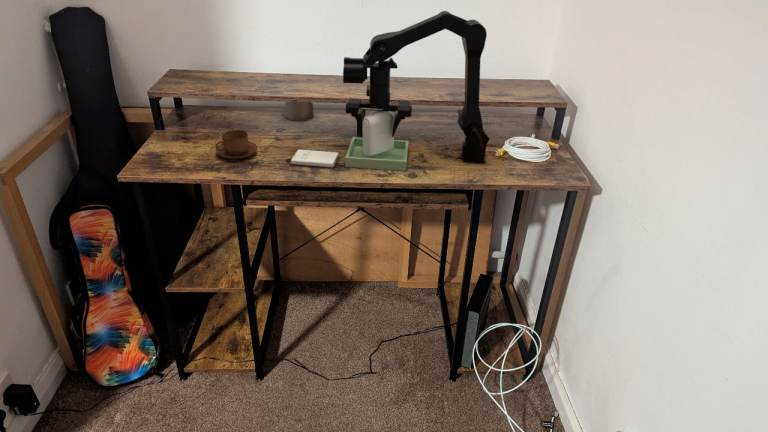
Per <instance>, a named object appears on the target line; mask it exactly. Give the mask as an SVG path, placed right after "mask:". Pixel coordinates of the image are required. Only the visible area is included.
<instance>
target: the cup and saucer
mask: <svg viewBox="0 0 768 432" xmlns="http://www.w3.org/2000/svg"><path fill="white" fill-rule="evenodd" d="M257 151H258V145H257V144H256V143H255V142H252V141H250V140H249V134H248V132H246V131H245V130H240V129H239V130H238V129H235V130H234V129H233V130H228V131H225V132H224V133H222V134H221V140H219V141H217V142H216V143H215V153H216V155H218V156H220V157H221V158H224V159H228V160H241V159H245V158H249V157H251V156H252V155H254V154H255V153H256V152H257Z"/></svg>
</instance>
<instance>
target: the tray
mask: <svg viewBox="0 0 768 432" xmlns="http://www.w3.org/2000/svg"><path fill="white" fill-rule="evenodd" d="M408 152H409V140H402V139H401V140H400V139H394V148H393V149H391V150H388V151H385V152H382V153H379V154H375V155H372V156H366V155H364V153H363V137H354V136H353V137H351V141H350V143H349V146H348V148H347V151H346V154H345V157H344V167H345V168H359V169H372V170H374V169H375V170H386V171H387V170H388V171H403V172H404V171H405V172H406V171H407V163H408Z"/></svg>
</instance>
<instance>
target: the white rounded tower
mask: <svg viewBox="0 0 768 432" xmlns="http://www.w3.org/2000/svg"><path fill="white" fill-rule="evenodd" d="M394 120H395V114H394V113H393V112H392V111H374V112H371V113H369V114H367V115H366V116H364V119H363V134H362V138H363V153H364V155H366V156H372V155H375V154H379V153H382V152H385V151H388V150H391V149H393V148H394V140H395V136H394V137H392V131H393V125H394Z"/></svg>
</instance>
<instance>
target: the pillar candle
mask: <svg viewBox="0 0 768 432" xmlns="http://www.w3.org/2000/svg"><path fill="white" fill-rule="evenodd" d="M284 104H285V117H286V118H287V119H288V120H290V121H292V122H293V121H294V122H303V121H309V120H311V119H313V118H314V105H313V104H314V103H311V102H285V101H284Z"/></svg>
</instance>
